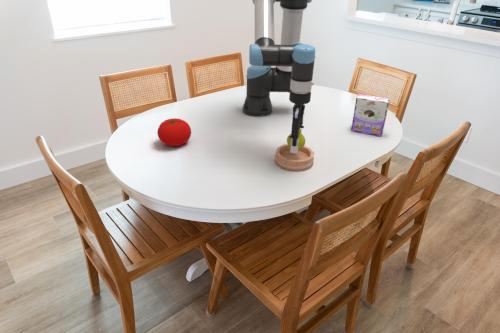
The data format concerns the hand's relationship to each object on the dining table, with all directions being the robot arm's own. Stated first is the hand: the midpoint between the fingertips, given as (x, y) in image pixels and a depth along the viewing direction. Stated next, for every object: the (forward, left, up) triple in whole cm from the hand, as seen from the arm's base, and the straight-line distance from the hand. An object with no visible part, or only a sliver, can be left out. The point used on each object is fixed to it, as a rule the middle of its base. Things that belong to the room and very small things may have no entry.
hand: (295, 148), depth 144 cm
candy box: (+28, +37, -6) cm, 47 cm away
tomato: (-51, +1, -6) cm, 51 cm away
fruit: (0, 0, -1) cm, 1 cm away
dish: (0, 0, -6) cm, 6 cm away
